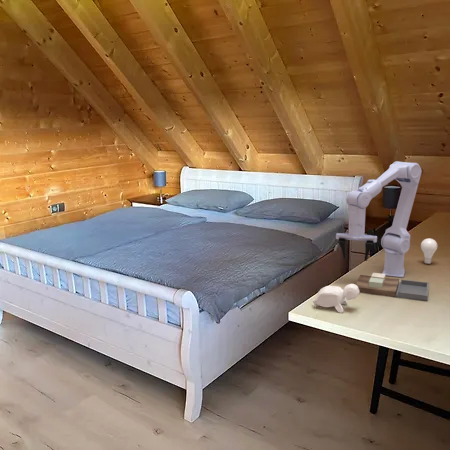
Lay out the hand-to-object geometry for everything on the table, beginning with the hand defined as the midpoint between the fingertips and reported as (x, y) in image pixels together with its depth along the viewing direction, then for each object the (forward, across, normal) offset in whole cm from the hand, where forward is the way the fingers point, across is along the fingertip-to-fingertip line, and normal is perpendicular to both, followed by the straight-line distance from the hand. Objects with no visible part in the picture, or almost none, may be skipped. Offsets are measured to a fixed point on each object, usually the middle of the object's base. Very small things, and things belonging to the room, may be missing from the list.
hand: (355, 259), depth 178 cm
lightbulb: (+10, +25, +34) cm, 43 cm away
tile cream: (+7, +8, 0) cm, 11 cm away
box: (+9, +21, -3) cm, 23 cm away
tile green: (+7, +8, -6) cm, 13 cm away
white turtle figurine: (+10, -2, -26) cm, 28 cm away
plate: (+9, +8, -3) cm, 13 cm away
